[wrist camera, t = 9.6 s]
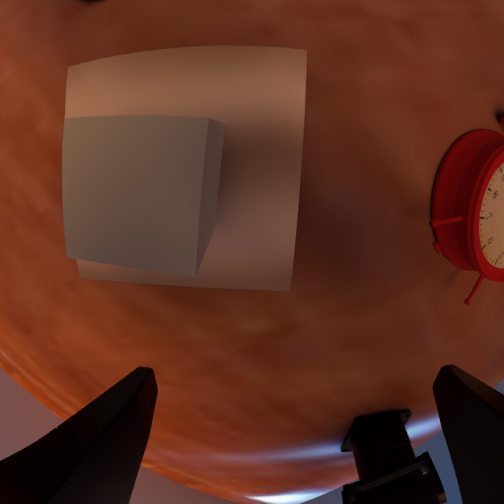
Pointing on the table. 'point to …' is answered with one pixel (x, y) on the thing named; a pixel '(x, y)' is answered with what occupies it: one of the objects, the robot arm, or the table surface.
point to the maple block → (233, 155)
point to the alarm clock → (472, 205)
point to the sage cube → (141, 189)
